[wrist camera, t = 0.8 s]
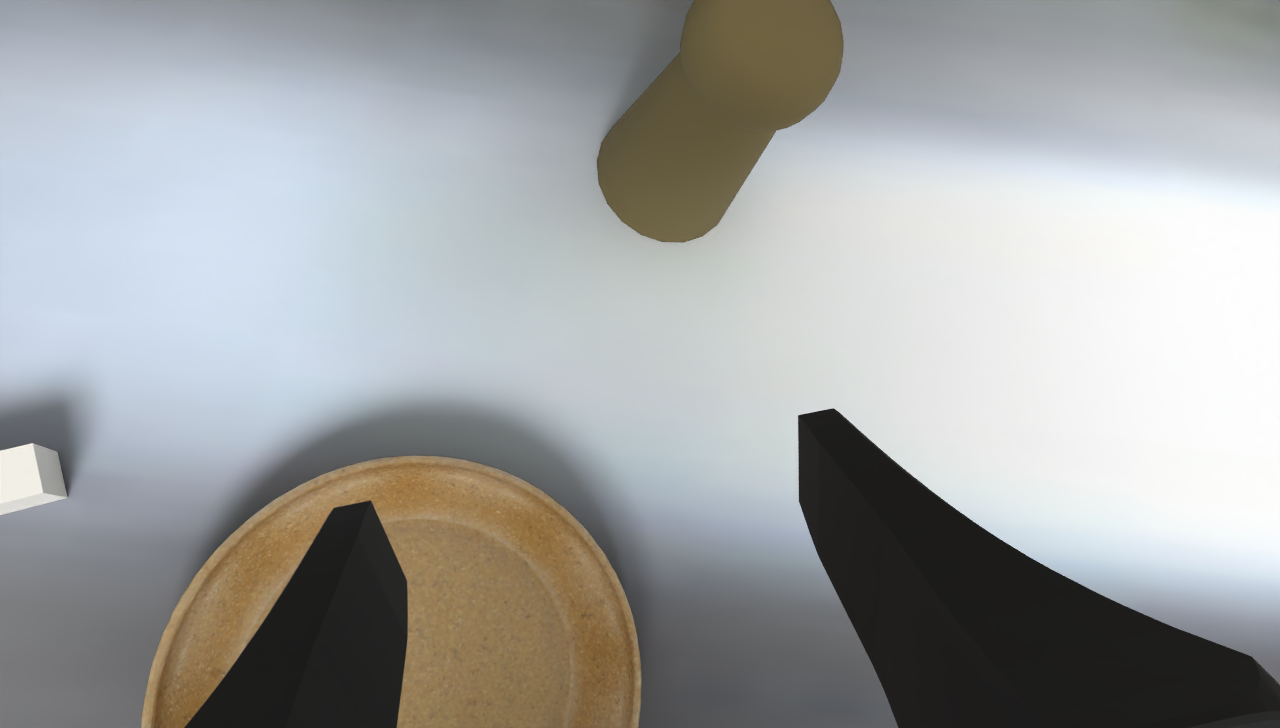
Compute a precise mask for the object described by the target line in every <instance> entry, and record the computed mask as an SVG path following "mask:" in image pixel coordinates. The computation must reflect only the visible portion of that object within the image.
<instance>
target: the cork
mask: <svg viewBox="0 0 1280 728" xmlns="http://www.w3.org/2000/svg"><path fill="white" fill-rule="evenodd" d="M842 57H843V35H842V29H841V23H840V20H839V18H838V16H837V13H836V11H835V9H834V7H833V5H832V3H831V1H830V0H694V2H693V4H692V5H691V7H690V9H689V11H688V13H687V15H686V20H685V24H684V28H683V33H682V38H681V43H680V53H679V54H678V55H677V56H676V57H675V58H674V59H673V61H672V62H671V63H670V64H669V65H668V66H667V67H666V68H665V69H664V70H663V72H662V73H661V74H660V75H659V76H658V77H657V78H656V79H655V80H654V82H653V83H652V84H651V85H650V86H649V87H648V88H647V89H646V90H645V92H644V93H643V94H642V95H641V96H640V97H639V98H638V99H637V100H636V102H635V103H634V104H633V105H632V106H631V107H630V108H629V109H628V110H627V112H626V113H625V114H624V115H623V116H622V117H621V118H620V119H619V120H618V121H617V123H616V124H615V125H614V126H613V127H612V129H611V130H610V131H609V133H608V134H607V136H606V137H605V139H604V140H603V141H602V144H601V148H600V152H599V155H598V159H597V168H598V179H599V185H600V187H601V189H602V192H603V194H604V196H605V199H606V201H607V204H608V205H609V206H610V207H611V208H612V210H613V211H614V212H615V213H616V215H617V216H618V217H619V218H620V219H621V221H622V222H624V223H625V224H627V225H628V226H629V227H631V228H632V229H634V230H635V231H637V232H638V233H639V234H641V235H644V236H647V237H650V238H653V239H656V240H659V241H661V242H686V241H689V240H692V239H695V238H698V237H702V236H703V235H705V234H706V233H707V232H708V231H710V230H711V229H712V228H714V227H715V226H716V225H717V224H718V223H719V221H720V220H721V218H722V216H723V215H724V213H725V212H726V210H727V209H728V207H729V205H730V204H731V202H732V201H733V199H734V197H735V196H736V194H737V193H738V191H739V189H740V188H741V186H742V185H743V183H744V181H745V180H746V178H747V177H748V175H749V173H750V172H751V170H752V169H753V167H754V165H755V164H756V162H757V161H758V159H759V158H760V156H761V154H762V153H763V151H764V150H765V148H766V146H767V145H768V143H769V142H770V140H771V138H772V137H773V135H774V134H775V132H776V130H780V129H784V128H787V127H790V126H792V125H794V124H796V123H798V122H800V121H801V120H802V119H804V118H805V117H806V116H808V115H809V114H810V113H812V112H813V111H814V110H816V109H817V108H818V107H819V106H820V105H821V104H822V103H823V102H824V101H825V99H826V97H827V95H828V94H829V92H830V90H831V89H832V87H833V85H834V83H835V81H836V79H837V77H838V75H839V73H840V69H841V63H842Z"/></svg>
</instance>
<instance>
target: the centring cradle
mask: <svg viewBox="0 0 1280 728" xmlns="http://www.w3.org/2000/svg"><path fill="white" fill-rule="evenodd" d="M65 498H67V493H66V489H65V484H64V480H63V475H62V470H61V466H60V461H59V456H58V452H57V451H54V450H51V449H48V448H45V447H42V446H39V445H37V444H34V443H31V444H27V445H23V446H18V447H14V448H10V449H6V450H1V451H0V515H3V514H7V513H11V512H14V511H18V510H22V509H26V508H30V507H34V506H38V505H42V504H46V503H49V502H53V501H57V500H61V499H65Z"/></svg>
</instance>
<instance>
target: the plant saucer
mask: <svg viewBox="0 0 1280 728" xmlns="http://www.w3.org/2000/svg"><path fill="white" fill-rule="evenodd" d="M370 500H371V501H372V504H373V506H374V508H375V510H376V513H377V515H378V517H379V519H380V521H381V524H382V526H383V528H384V530H385V533H386V535H387V537H388V539H389V542H390V544H391V546H392V548H393V550H394V553H395V555H396V557H397V559H398V562H399V564H400V566H401V568H402V570H403V573H404V575H405V577H406V579H407V589H408V640H407V649H406V658H405V666H404V674H403V683H402V691H401V698H400V706H399V714H398V722H397V728H638V726H639V712H640V707H641V665H640V653H639V646H638V639H637V632H636V628H635V625H634V619H633V615H632V613H631V609H630V606H629V604H628V601H627V598H626V595H625V592H624V590H623V588H622V585H621V583H620V581H619V579H618V577H617V574H616V572H615V570H614V569H613V568H612V566H611V564H610V562H609V561H608V559H607V557H606V555H605V554H604V552H603V551H602V549H601V548H600V546H598V545H597V543H596V541H595V540H594V539H593V537H592V536H591V535H590V533H589V532H588V531H587V530H586V529H585V527H584V526H583V525H582V524H581V523H580V522H579V521H578V520H577V519H576V518H575V517H574V516H573V515H572V514H571V513H569V512H568V511H567V510H566V509H565V508H564V507H563V506H561V505H560V504H559V503H557V502H556V501H555V500H554V499H553V498H551V497H550V496H548V495H547V494H546V493H545V492H543V491H542V490H540V489H538V488H537V487H535V486H533V485H532V484H530V483H528V482H527V481H525V480H523V479H520V478H518V477H516V476H514V475H512V474H510V473H507V472H505V471H503V470H500V469H497V468H494V467H490V466H488V465H484V464H481V463H477V462H472V461H468V460H463V459H456V458H452V457H443V456H425V455H424V456H395V457H384V458H378V459H374V460H369V461H365V462H360V463H356V464H352V465H349V466H346V467H343V468H339V469H336V470H334V471H331V472H328V473H325V474H322V475H320V476H318V477H316V478H314V479H312V480H309V481H307V482H305V483H303V484H301V485H299V486H297V487H295V488H293V489H292V490H290V491H288V492H287V493H285V494H283V495H282V496H280V497H278V498H276V499H275V500H273V501H272V502H270V503H269V504H267V505H266V506H265V507H263V508H262V509H261V510H259V511H258V512H257V513H256V514H254V515H253V516H252V517H250V518H249V519H248V520H247V521H246V522H244V523H243V524H242V525H241V526H240V527H239V528H237V529H236V530H235V531H234V532H233V533H232V534H231V535H230V536H229V537H228V538H227V539H226V540H225V541H224V542H223V543H222V544H221V545H220V546H219V547H218V548H217V549H216V551H215V552H214V553H213V554H212V555H211V556H210V558H209V559H208V560H207V561H206V562H205V564H204V565H203V566H202V567H201V569H200V570H199V572H198V573H197V574H196V576H195V577H194V578H193V580H192V582H191V584H190V585H189V587H188V588H187V590H186V591H185V592H184V594H183V595H182V597H181V599H180V601H179V602H178V604H177V606H176V608H175V609H174V611H173V613H172V616H171V618H170V621H169V623H168V625H167V627H166V629H165V631H164V633H163V635H162V638H161V641H160V643H159V646H158V649H157V652H156V655H155V658H154V661H153V664H152V668H151V672H150V677H149V680H148V683H147V689H146V693H145V698H144V706H143V713H142V723H141V728H184V727H185V726H186V725H187V724H188V722H189V721H190V720H191V719H192V717H193V716H194V715H195V714H196V713H197V711H198V710H199V709H200V708H201V706H202V705H203V704H204V703H205V701H206V700H207V699H208V698H209V696H210V695H211V694H212V692H213V691H214V690H215V688H216V687H217V686H218V685H219V683H220V682H221V681H222V679H223V678H224V677H225V675H226V674H227V673H228V671H229V670H230V668H231V667H232V666H233V664H234V663H235V661H236V660H237V658H238V657H239V656H240V654H241V653H242V651H243V650H244V648H245V647H246V646H247V644H248V643H249V641H250V640H251V639H252V637H253V636H254V634H255V633H256V631H257V630H258V628H259V627H260V626H261V624H262V623H263V621H264V619H265V618H266V616H267V615H268V613H269V612H270V610H271V609H272V607H273V605H274V604H275V602H276V601H277V599H278V598H279V596H280V594H281V593H282V591H283V590H284V588H285V587H286V585H287V583H288V582H289V580H290V579H291V577H292V575H293V574H294V572H295V570H296V569H297V567H298V565H299V564H300V562H301V561H302V559H303V557H304V556H305V554H306V552H307V550H308V549H309V547H310V545H311V544H312V542H313V540H314V539H315V537H316V535H317V534H318V532H319V530H320V529H321V527H322V525H323V524H324V522H325V520H326V519H327V517H328V515H329V514H330V512H331V511H332V510H333V508H335V507H340V506H345V505H350V504H355V503H360V502H365V501H370Z"/></svg>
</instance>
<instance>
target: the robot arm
mask: <svg viewBox="0 0 1280 728" xmlns="http://www.w3.org/2000/svg"><path fill="white" fill-rule="evenodd" d="M798 438H799V503H800V505H801V508H802V511H803V514H804V517H805V520H806V523H807V526H808V529H809V532H810V534H811V537H812V540H813V543H814V545H815V548H816V551H817V554H818V556H819V558H820V560H821V562H822V564H823V566H824V568H825V570H826V572H827V574H828V576H829V578H830V580H831V582H832V584H833V586H834V588H835V590H836V592H837V594H838V596H839V598H840V600H841V602H842V604H843V606H844V608H845V610H846V612H847V614H848V616H849V618H850V620H851V622H852V624H853V626H854V628H855V630H856V632H857V634H858V636H859V638H860V640H861V642H862V644H863V646H864V648H865V650H866V652H867V654H868V656H869V658H870V660H871V662H872V664H873V666H874V669H875V671H876V673H877V675H878V678H879V680H880V682H881V684H882V687H883V689H884V691H885V694H886V696H887V699H888V701H889V704H890V707H891V709H892V712H893V714H894V717H895V720H896V722H897V725H898V727H899V728H1280V685H1279V684H1278V682H1277V681H1276V680H1275V679H1274V678H1272V677H1271V676H1270V675H1269V674H1268V673H1267V672H1266V671H1265V670H1264V669H1263V668H1262V667H1261V666H1260V665H1259V664H1258V663H1257V662H1256V661H1255V660H1254V659H1253V658H1252V657H1251V656H1249V655H1246V654H1243V653H1241V652H1238V651H1235V650H1233V649H1230V648H1227V647H1225V646H1222V645H1219V644H1217V643H1214V642H1211V641H1209V640H1206V639H1203V638H1201V637H1198V636H1195V635H1193V634H1190V633H1187V632H1185V631H1182V630H1179V629H1177V628H1174V627H1172V626H1169V625H1167V624H1165V623H1162V622H1160V621H1158V620H1155V619H1153V618H1151V617H1149V616H1146V615H1144V614H1142V613H1139V612H1137V611H1135V610H1133V609H1130V608H1128V607H1126V606H1123V605H1121V604H1119V603H1117V602H1115V601H1113V600H1111V599H1109V598H1106V597H1104V596H1102V595H1100V594H1098V593H1096V592H1094V591H1092V590H1090V589H1088V588H1086V587H1084V586H1082V585H1080V584H1078V583H1077V582H1075V581H1073V580H1071V579H1069V578H1067V577H1065V576H1063V575H1061V574H1059V573H1057V572H1055V571H1053V570H1051V569H1049V568H1048V567H1046V566H1044V565H1042V564H1040V563H1039V562H1037V561H1035V560H1033V559H1032V558H1030V557H1028V556H1026V555H1025V554H1023V553H1022V552H1020V551H1018V550H1017V549H1015V548H1013V547H1012V546H1010V545H1008V544H1007V543H1005V542H1003V541H1002V540H1000V539H999V538H997V537H996V536H994V535H992V534H991V533H989V532H988V531H986V530H985V529H983V528H982V527H980V526H979V525H978V524H976V523H975V522H973V521H972V520H970V519H969V518H967V517H966V516H965V515H963V514H962V513H960V512H959V511H958V510H956V509H955V508H953V507H952V506H951V505H949V504H948V503H947V502H945V501H944V500H943V499H941V498H940V497H939V496H937V495H936V494H935V493H933V492H932V491H931V490H929V489H928V488H927V487H926V486H924V485H923V484H922V483H921V482H919V481H918V480H917V479H916V478H914V477H913V476H912V475H911V474H909V473H908V472H907V471H906V470H904V469H903V468H902V467H901V466H900V465H898V464H897V463H896V462H895V461H894V460H892V459H891V458H890V457H889V456H888V455H887V454H885V453H884V452H883V451H882V450H881V449H880V448H878V447H877V446H876V445H875V444H874V443H873V442H872V441H870V440H869V439H868V438H867V437H866V436H865V435H864V434H863V433H861V432H860V431H859V430H858V429H857V428H856V427H855V426H854V425H853V424H851V423H850V422H849V421H848V420H847V419H846V418H845V417H844V416H843V415H842V414H840V413H839V412H838V411H836V410H835V409H834V408H833V409H828V410H823V411H818V412H813V413H808V414H803V415H798ZM407 640H408V589H407V579H406V577H405V575H404V573H403V570H402V568H401V566H400V564H399V562H398V559H397V557H396V555H395V553H394V550H393V548H392V546H391V544H390V542H389V539H388V537H387V535H386V533H385V530H384V528H383V526H382V524H381V521H380V519H379V517H378V515H377V513H376V510H375V508H374V506H373V504H372V501H371V500H370V501H365V502H360V503H355V504H350V505H345V506H340V507H335V508H333V510H332V511H331V512H330V514H329V515H328V517H327V519H326V520H325V522H324V524H323V525H322V527H321V529H320V530H319V532H318V534H317V535H316V537H315V539H314V540H313V542H312V544H311V545H310V547H309V549H308V550H307V552H306V554H305V556H304V557H303V559H302V561H301V562H300V564H299V565H298V567H297V569H296V570H295V572H294V574H293V575H292V577H291V579H290V580H289V582H288V583H287V585H286V587H285V588H284V590H283V591H282V593H281V594H280V596H279V598H278V599H277V601H276V602H275V604H274V605H273V607H272V609H271V610H270V612H269V613H268V615H267V616H266V618H265V619H264V621H263V623H262V624H261V626H260V627H259V628H258V630H257V631H256V633H255V634H254V636H253V637H252V639H251V640H250V641H249V643H248V644H247V646H246V647H245V648H244V650H243V651H242V653H241V654H240V656H239V657H238V658H237V660H236V661H235V663H234V664H233V666H232V667H231V668H230V670H229V671H228V673H227V674H226V675H225V677H224V678H223V679H222V681H221V682H220V683H219V685H218V686H217V687H216V688H215V690H214V691H213V692H212V694H211V695H210V696H209V698H208V699H207V700H206V701H205V703H204V704H203V705H202V706H201V708H200V709H199V710H198V711H197V713H196V714H195V715H194V716H193V717H192V719H191V720H190V721H189V722H188V724H187V725H186V726H185V727H184V728H397V722H398V714H399V706H400V698H401V691H402V683H403V674H404V666H405V658H406V649H407Z"/></svg>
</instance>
